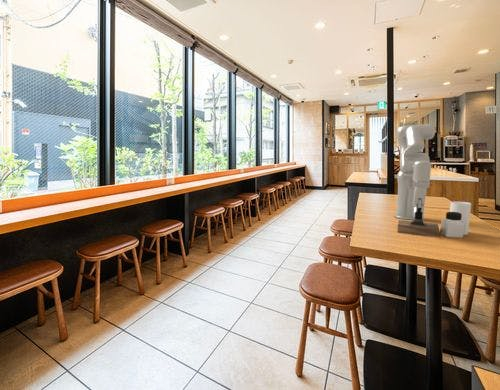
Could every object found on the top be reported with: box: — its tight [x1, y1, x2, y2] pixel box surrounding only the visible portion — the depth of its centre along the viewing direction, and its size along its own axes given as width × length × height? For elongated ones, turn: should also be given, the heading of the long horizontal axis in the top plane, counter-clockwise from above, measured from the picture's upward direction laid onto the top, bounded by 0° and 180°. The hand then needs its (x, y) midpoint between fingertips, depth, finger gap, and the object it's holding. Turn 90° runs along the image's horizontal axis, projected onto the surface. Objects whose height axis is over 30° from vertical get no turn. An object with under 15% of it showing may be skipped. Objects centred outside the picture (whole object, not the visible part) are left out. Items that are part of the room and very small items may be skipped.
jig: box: [397, 219, 440, 238], centre depth 137 cm, size 12×18×4 cm, turn 57°
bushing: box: [412, 205, 425, 224], centre depth 135 cm, size 5×5×9 cm
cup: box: [449, 200, 472, 236], centre depth 133 cm, size 8×8×16 cm
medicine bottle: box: [439, 211, 465, 239], centre depth 128 cm, size 7×7×12 cm
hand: (418, 217), depth 136 cm, fingers closed on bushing, 4 cm apart
